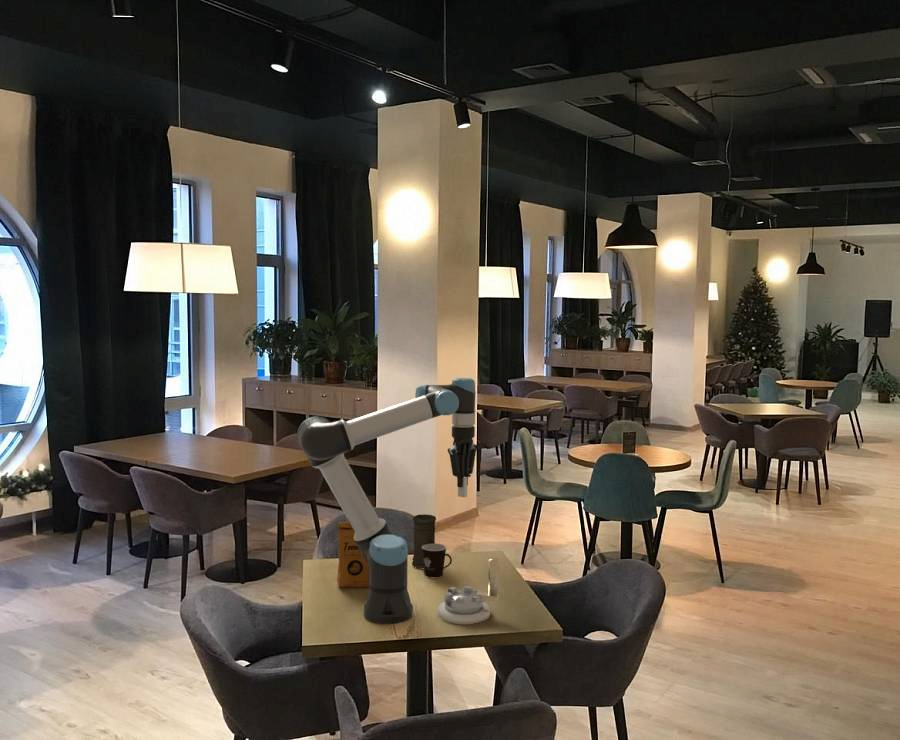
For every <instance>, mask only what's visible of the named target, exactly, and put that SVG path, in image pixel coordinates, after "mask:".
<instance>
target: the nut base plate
mask: <svg viewBox="0 0 900 740" xmlns="http://www.w3.org/2000/svg"><path fill="white" fill-rule="evenodd" d="M437 615H438V616H437V617H438V618H440V619H441V620H442V621H445V622H447V623H450V624H455V625H474V623H476V624H478V623H477V622H480V623H482V622H481V621H483V622H485V621H487V620H488V619H489V618H490V617H489V616H491V607H490V605H488V603H486V602H484V606H483V610H482V611H481V612H479V613H475V614H470V615H460V614H454V613H451V612H448V611H447V610H446V609H445V601H443V602H441V603H440V604H438V607H437ZM488 617H489V618H488ZM487 618H488V619H487ZM486 619H487V620H486ZM484 620H485V621H484Z"/></svg>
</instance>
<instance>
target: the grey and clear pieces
mask: <svg viewBox="0 0 900 740" xmlns="http://www.w3.org/2000/svg"><path fill="white" fill-rule="evenodd" d="M487 560H488V561H487V562H488V565H487V566H488V572H487V591H483V590H482V589H475V590H473V586H470V585H464V587H463V589H462V588H461V589H458V588H457V587H455V586H452V587H449V588H447V590H448V591H447V592H444V602H445V609H446V610H447V611H448V612H451V613H454V614H460V615H470V614H475V613H479V612H481V611H482V610H483V606H484V603H485V602H484V601H487V602H489V601H490V602H495V603H496V602H498V599H499V597H500V596H499V592H498V591H499V589H498V588H499V558H497V557H490V558H488V559H487Z"/></svg>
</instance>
